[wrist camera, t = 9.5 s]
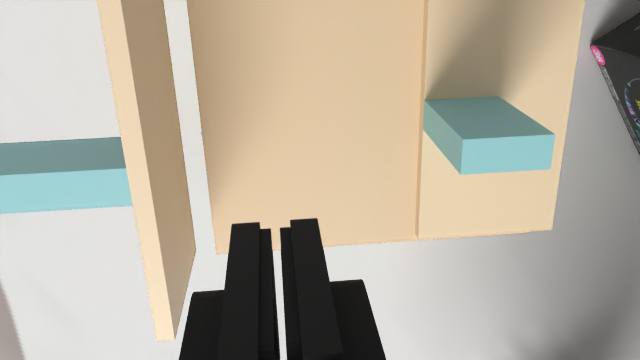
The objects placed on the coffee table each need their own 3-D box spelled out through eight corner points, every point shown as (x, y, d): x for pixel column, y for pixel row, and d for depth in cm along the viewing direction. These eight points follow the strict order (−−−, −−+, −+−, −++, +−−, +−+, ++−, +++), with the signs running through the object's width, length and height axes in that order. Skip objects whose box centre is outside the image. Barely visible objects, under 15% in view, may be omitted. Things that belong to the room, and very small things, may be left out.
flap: (175, 340, 19) (7, 352, 19) (195, 249, 24) (67, 258, 24) (117, -15, 15) (-103, -7, 14) (159, -27, 20) (1, -22, 20)
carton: (461, 144, 37) (610, 300, 21) (231, 157, 36) (203, 332, 20) (475, -58, 32) (683, -56, 16) (211, -50, 31) (153, -38, 15)
